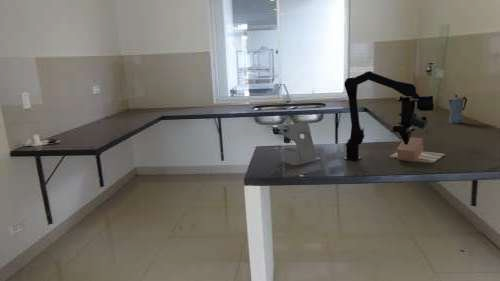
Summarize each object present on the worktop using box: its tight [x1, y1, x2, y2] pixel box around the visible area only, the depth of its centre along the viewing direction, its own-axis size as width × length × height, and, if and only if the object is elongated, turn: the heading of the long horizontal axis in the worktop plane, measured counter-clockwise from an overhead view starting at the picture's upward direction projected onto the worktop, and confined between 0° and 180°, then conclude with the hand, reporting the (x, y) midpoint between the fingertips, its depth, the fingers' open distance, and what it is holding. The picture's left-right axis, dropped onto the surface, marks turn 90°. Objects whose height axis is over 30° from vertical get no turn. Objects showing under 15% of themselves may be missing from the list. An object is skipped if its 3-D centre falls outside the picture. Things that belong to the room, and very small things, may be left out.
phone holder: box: [280, 121, 321, 166], centre depth 182 cm, size 17×10×18 cm, turn 120°
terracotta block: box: [396, 136, 424, 163], centre depth 176 cm, size 6×8×11 cm
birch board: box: [388, 150, 446, 164], centre depth 181 cm, size 18×20×1 cm
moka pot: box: [447, 94, 468, 124], centre depth 264 cm, size 10×15×20 cm, turn 107°
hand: (406, 144), depth 172 cm, fingers closed
